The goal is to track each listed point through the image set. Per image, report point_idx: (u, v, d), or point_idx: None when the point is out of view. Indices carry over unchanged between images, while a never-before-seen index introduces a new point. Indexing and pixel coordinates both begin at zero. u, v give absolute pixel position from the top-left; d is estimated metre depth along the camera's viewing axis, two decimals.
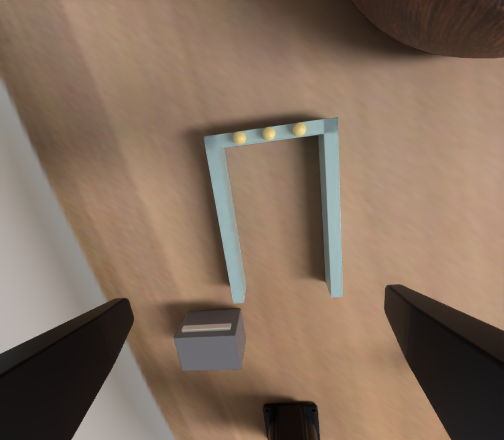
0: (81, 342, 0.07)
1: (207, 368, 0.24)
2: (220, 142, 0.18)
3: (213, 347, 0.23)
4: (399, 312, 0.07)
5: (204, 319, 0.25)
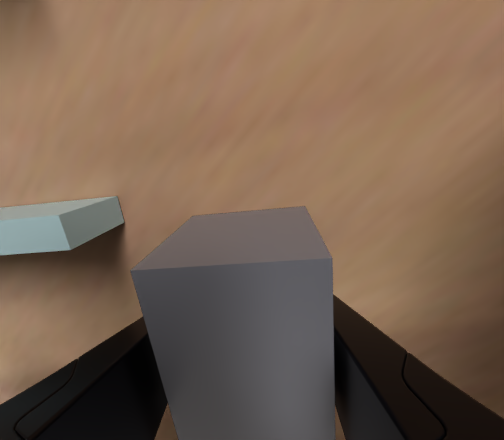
0: None
1: (322, 393, 0.05)
2: None
3: (208, 358, 0.05)
4: None
5: None
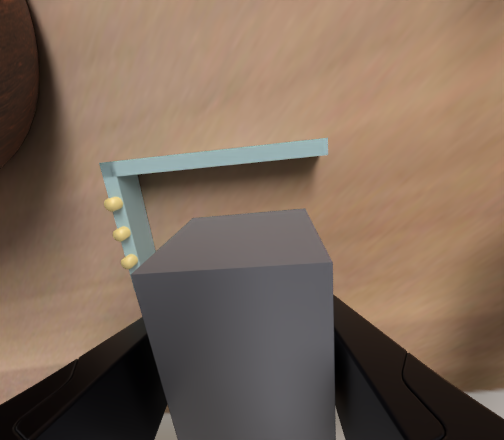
0: None
1: (322, 397, 0.05)
2: None
3: (208, 362, 0.05)
4: None
5: None
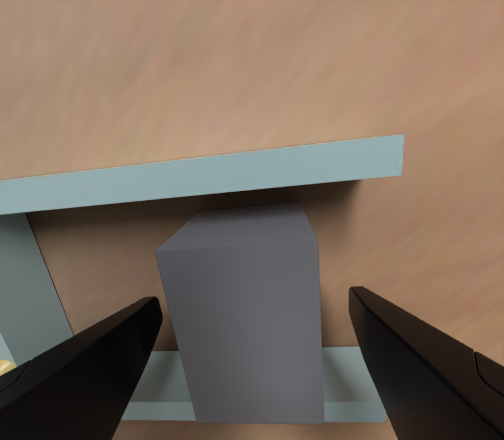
0: (119, 341, 0.07)
1: (311, 354, 0.07)
2: None
3: (216, 326, 0.07)
4: (358, 314, 0.07)
5: None
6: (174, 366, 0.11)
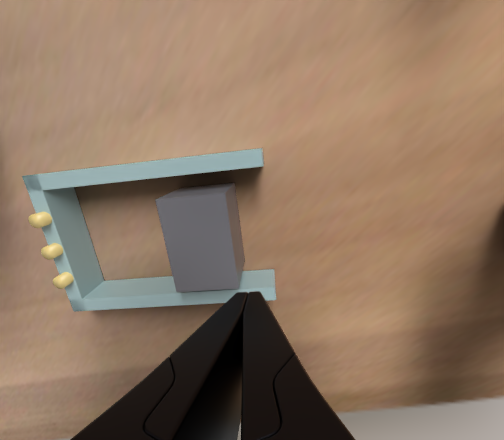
0: (237, 338, 0.06)
1: (228, 249, 0.14)
2: (75, 296, 0.17)
3: (184, 236, 0.14)
4: None
5: None
6: (163, 282, 0.19)
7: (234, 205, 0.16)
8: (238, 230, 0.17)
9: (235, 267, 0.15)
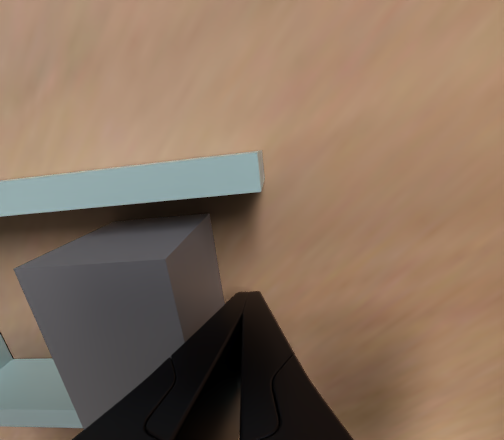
0: (238, 338, 0.06)
1: None
2: None
3: (86, 342, 0.07)
4: None
5: None
6: None
7: (204, 261, 0.08)
8: (214, 302, 0.09)
9: None
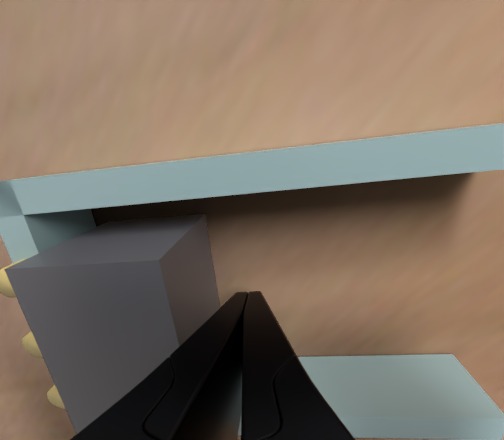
0: (236, 338, 0.06)
1: None
2: None
3: (78, 344, 0.06)
4: None
5: None
6: None
7: (200, 262, 0.08)
8: (210, 303, 0.09)
9: None
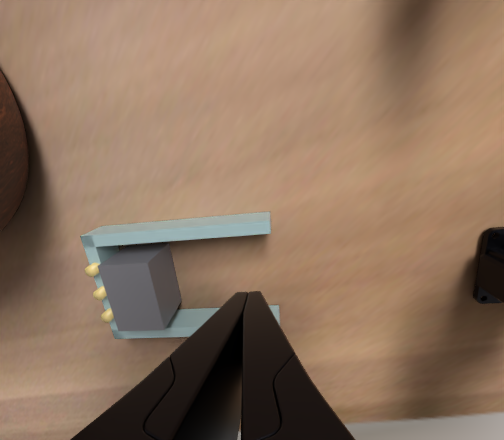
0: (236, 338, 0.06)
1: (154, 302, 0.19)
2: None
3: (120, 291, 0.19)
4: None
5: None
6: (187, 315, 0.22)
7: (165, 263, 0.20)
8: (171, 280, 0.21)
9: (160, 314, 0.19)
